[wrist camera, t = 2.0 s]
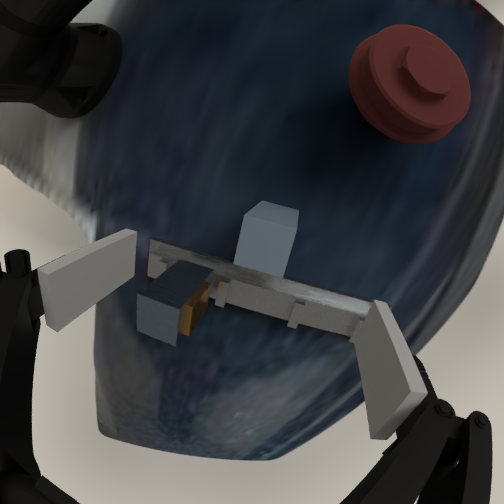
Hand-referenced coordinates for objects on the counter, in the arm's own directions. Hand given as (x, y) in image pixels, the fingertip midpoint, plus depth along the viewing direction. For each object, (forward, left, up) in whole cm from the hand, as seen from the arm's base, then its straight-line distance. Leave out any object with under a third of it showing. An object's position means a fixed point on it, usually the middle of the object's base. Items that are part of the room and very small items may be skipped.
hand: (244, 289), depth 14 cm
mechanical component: (+8, +16, -17) cm, 24 cm away
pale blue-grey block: (0, 0, -16) cm, 16 cm away
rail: (+1, -8, -16) cm, 18 cm away
